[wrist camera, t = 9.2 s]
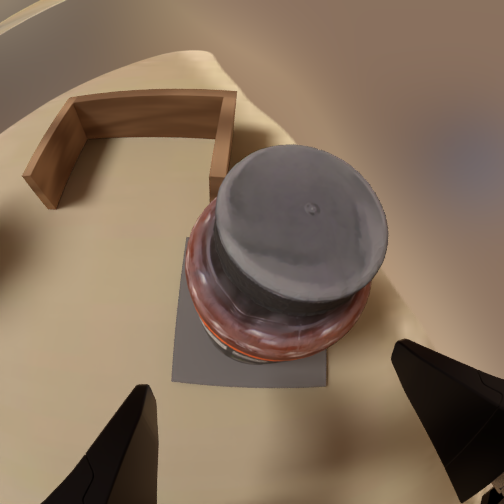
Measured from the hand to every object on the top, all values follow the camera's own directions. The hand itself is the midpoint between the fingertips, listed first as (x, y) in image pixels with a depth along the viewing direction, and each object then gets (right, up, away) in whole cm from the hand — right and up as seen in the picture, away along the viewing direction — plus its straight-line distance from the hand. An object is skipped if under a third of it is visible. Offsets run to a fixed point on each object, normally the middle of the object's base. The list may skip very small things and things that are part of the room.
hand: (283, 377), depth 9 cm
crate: (-11, +12, +14) cm, 21 cm away
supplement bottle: (-1, 0, +10) cm, 10 cm away
